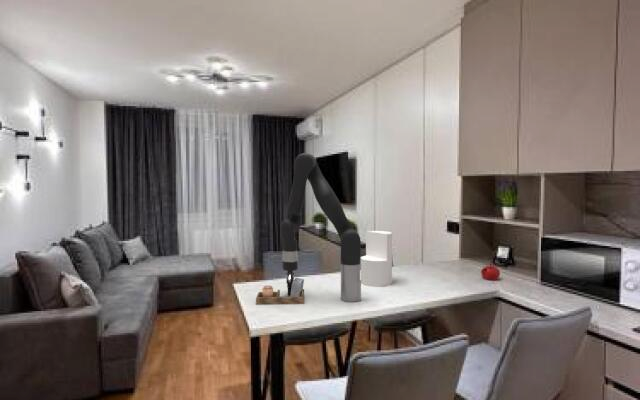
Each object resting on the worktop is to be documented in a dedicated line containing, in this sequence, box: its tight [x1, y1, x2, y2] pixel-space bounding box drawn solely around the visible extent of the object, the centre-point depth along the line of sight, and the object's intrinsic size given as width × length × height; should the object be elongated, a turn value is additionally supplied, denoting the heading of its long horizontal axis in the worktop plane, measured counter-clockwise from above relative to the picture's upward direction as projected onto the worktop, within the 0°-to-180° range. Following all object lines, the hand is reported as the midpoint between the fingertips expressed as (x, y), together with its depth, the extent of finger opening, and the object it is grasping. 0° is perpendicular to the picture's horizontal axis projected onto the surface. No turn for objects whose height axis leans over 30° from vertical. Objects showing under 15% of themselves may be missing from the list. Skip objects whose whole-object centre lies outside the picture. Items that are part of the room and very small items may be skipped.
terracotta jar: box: [261, 285, 274, 297], centre depth 176 cm, size 5×5×7 cm
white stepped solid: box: [360, 230, 393, 288], centre depth 210 cm, size 17×17×28 cm
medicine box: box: [289, 277, 305, 297], centre depth 181 cm, size 8×4×9 cm, turn 172°
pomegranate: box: [480, 262, 501, 281], centre depth 217 cm, size 10×10×9 cm
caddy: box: [255, 288, 305, 306], centre depth 178 cm, size 22×13×4 cm, turn 92°
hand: (290, 294), depth 184 cm, fingers closed
